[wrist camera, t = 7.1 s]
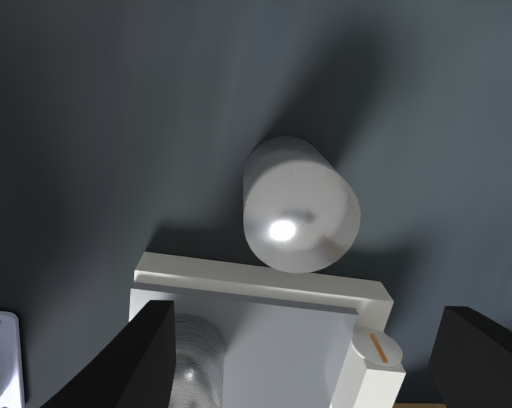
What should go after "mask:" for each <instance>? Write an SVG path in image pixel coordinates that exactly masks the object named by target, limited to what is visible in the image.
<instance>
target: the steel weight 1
mask: <svg viewBox="0 0 512 408" xmlns="http://www.w3.org/2000/svg"><path fill="white" fill-rule="evenodd" d="M175 338H176V368H175V374H174V380H173V386H172V391H171V397H170V402H169V406H168V408H222V399H223V378H224V357H225V343H224V339H223V337H222V335H221V333H220V332H219V330H218V329H217V328H216V327H215V326H214V325H213V324H211V323H210V322H208V321H206V320H204V319H202V318H199V317H196V316H191V315H175Z"/></svg>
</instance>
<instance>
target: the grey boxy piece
mask: <svg viewBox="0 0 512 408" xmlns="http://www.w3.org/2000/svg"><path fill="white" fill-rule="evenodd" d="M150 300H174V312H175V315H191V316H196V317H199V318H202V319H204V320H206V321H208V322H210V323H211V324H213V325H214V326H215V327H216V328H217V329H218V330H219V332H220V333H221V335H222V337H223V339H224V343H225V357H224V378H223V399H222V408H392V407H393V404H394V402H395V399H396V397H397V394H398V392H399V389H400V387H401V384H402V382H403V380H404V377H405V375H406V372H405V370H404V368H403V366H402V364H401V363H400V362H401V360H402V357H403V354H402V350H401V348H400V347H399V345H398V344H397V343H396V342H395V341H394V340H393V339H392V338H390V337H389V336H387V335H386V334H385V333H384V328H385V325H386V323H387V320H388V317H389V314H390V311H391V309H392V306H393V303H394V301H393V300H392V298H391V297H390V295H389V294H388V292H387V291H386V289H385V288H384V286H383V284H382V283H381V282H379V281H372V280H364V279H356V278H348V277H340V276H332V275H324V274H317V273H299V274H297V273H287V272H283V271H279V270H276V269H274V268H269V267H262V266H254V265H246V264H238V263H230V262H222V261H215V260H207V259H199V258H191V257H183V256H175V255H167V254H160V253H152V252H144V254H143V256H142V258H141V259H140V261H139V263H138V265H137V267H136V269H135V275H134V283H133V285H132V287H131V294H130V312H129V322H130V321H131V320H132V318H133V317H134V316H135V315H136V314H137V313H138V312H139V311H140V310H141V309H142V307H143V306H144V305H145V304H146V303H147V302H148V301H150Z"/></svg>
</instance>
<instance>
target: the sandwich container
mask: <svg viewBox="0 0 512 408" xmlns="http://www.w3.org/2000/svg"><path fill="white" fill-rule="evenodd" d="M392 408H447V407H446V405H445V404H412V403H394V404H393V407H392Z"/></svg>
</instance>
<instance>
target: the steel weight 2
mask: <svg viewBox="0 0 512 408" xmlns="http://www.w3.org/2000/svg"><path fill="white" fill-rule="evenodd" d="M243 223H244V232H245V237H246V240H247V242H248V244H249V246H250V248H251V250H252V251H253V252H254V254H255V255H256V256H257V257H258V258H259V259H260V260H261V261H263V262H264V263H265V264H267V265H268V266H270V267H272V268H274V269H276V270H279V271H283V272H287V273H297V274H299V273H309V272H314V271H318V270H321V269H323V268H326V267H328V266H329V265H331V264H333V263H334V262H336V261H337V260H339V259H340V258H341V257H342V256H343V255H344V254H345V253H346V252H347V251H348V250H349V248H350V247H351V245H352V244H353V242H354V240H355V238H356V236H357V233H358V230H359V225H360V207H359V203H358V200H357V197H356V195H355V193H354V191H353V190H352V188H351V187H350V186H349V184H348V183H347V182H346V181H345V180H344V179H343V178H342V177H341V176H340V175H339V173H338V172H337V171H336V170H335V169H334V168H333V167H332V166H331V165H330V164H329V163H328V162H327V160H326V159H325V158H324V157H323V156H322V155H321V154H320V153H319V152H318V151H317V150H316V149H315V148H314V147H313V146H312V145H311V144H310V143H308V142H307V141H305V140H303V139H300V138H297V137H293V136H279V137H274V138H271V139H269V140H267V141H265V142H263V143H261V144H260V145H259V146H258V147H256V148H255V149H254V150H253V152H252V153H251V154H250V156H249V157H248V159H247V161H246V164H245V167H244V172H243Z"/></svg>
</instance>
